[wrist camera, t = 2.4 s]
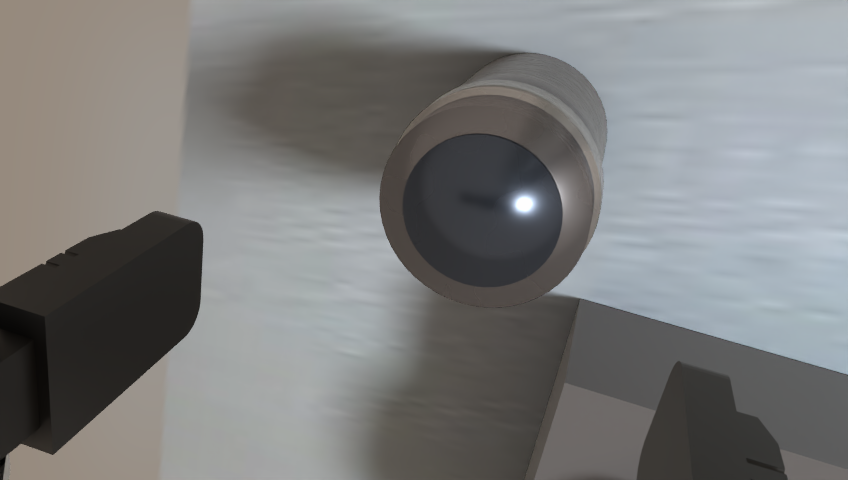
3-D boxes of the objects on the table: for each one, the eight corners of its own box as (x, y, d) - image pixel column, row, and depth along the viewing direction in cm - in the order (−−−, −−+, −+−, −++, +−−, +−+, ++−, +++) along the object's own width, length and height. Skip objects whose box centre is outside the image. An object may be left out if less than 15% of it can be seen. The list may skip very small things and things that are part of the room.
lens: (463, 31, 22) (389, 74, 16) (634, 70, 21) (627, 133, 15) (433, 187, 24) (357, 281, 18) (586, 228, 23) (563, 342, 17)
